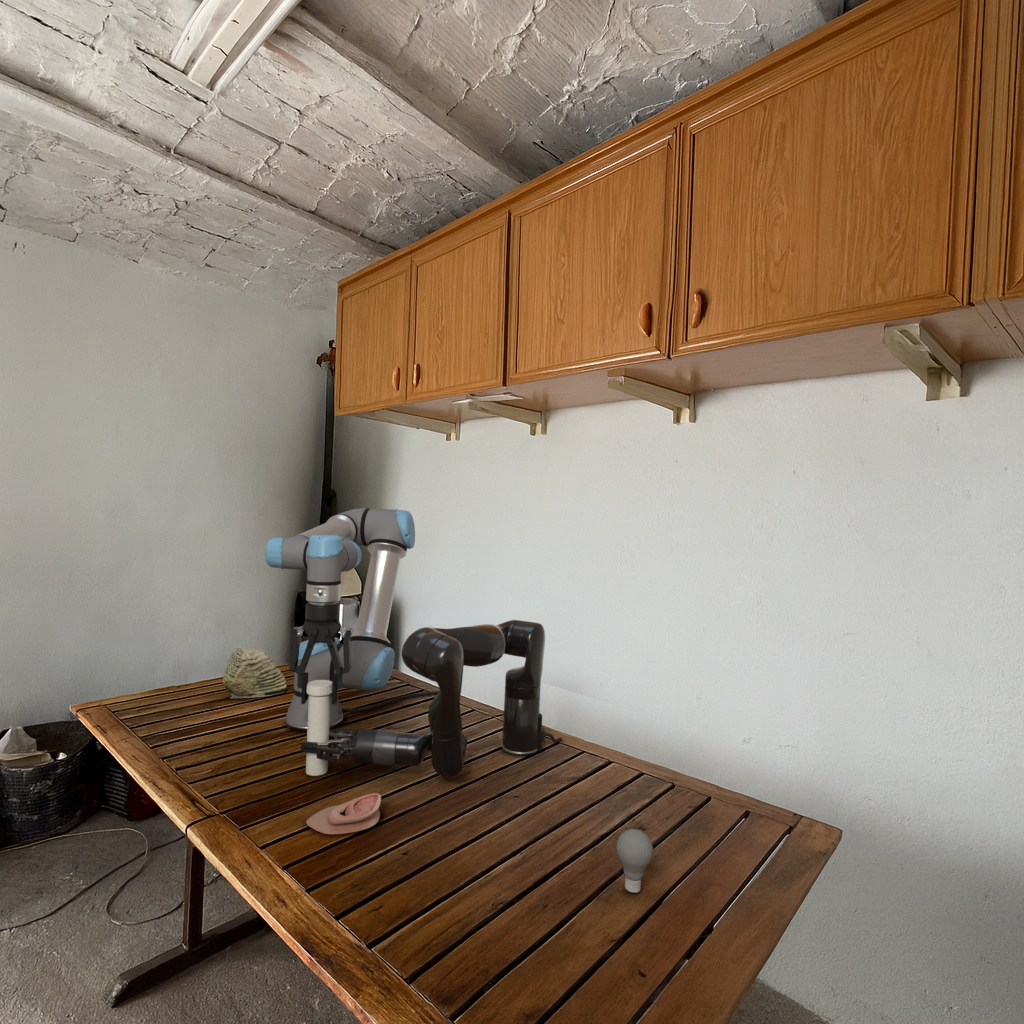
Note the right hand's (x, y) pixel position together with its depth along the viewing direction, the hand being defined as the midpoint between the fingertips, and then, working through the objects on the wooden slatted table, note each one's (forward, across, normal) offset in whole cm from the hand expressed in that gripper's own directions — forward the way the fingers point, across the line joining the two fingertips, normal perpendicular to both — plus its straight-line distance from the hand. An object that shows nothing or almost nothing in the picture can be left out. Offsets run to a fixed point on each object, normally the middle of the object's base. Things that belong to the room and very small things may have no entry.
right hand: (306, 742), depth 146 cm
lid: (-3, 0, -14) cm, 14 cm away
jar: (-3, 0, +7) cm, 7 cm away
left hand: (-3, 0, -10) cm, 10 cm away
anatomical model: (-16, +21, +7) cm, 27 cm away
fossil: (+36, -50, +7) cm, 62 cm away
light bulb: (-70, +36, +7) cm, 79 cm away
